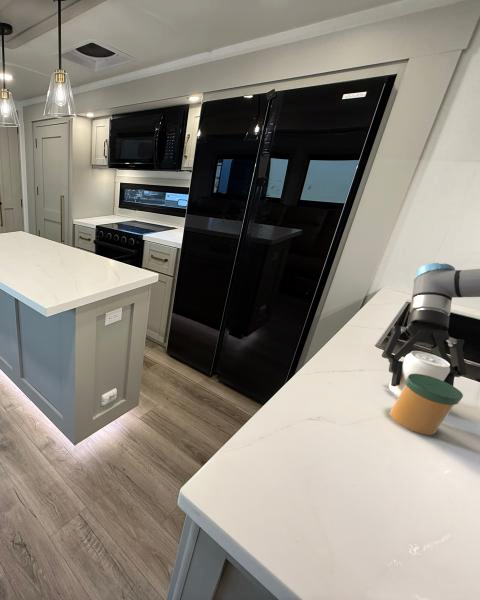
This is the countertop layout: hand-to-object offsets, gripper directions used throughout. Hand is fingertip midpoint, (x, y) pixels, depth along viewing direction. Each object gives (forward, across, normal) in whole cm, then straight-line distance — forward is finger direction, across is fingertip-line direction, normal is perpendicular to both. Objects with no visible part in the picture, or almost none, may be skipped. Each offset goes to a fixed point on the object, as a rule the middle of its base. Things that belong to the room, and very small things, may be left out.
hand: (417, 391), depth 80 cm
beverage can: (0, 0, -5) cm, 5 cm away
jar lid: (+2, +2, +12) cm, 12 cm away
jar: (+9, +2, +4) cm, 11 cm away
